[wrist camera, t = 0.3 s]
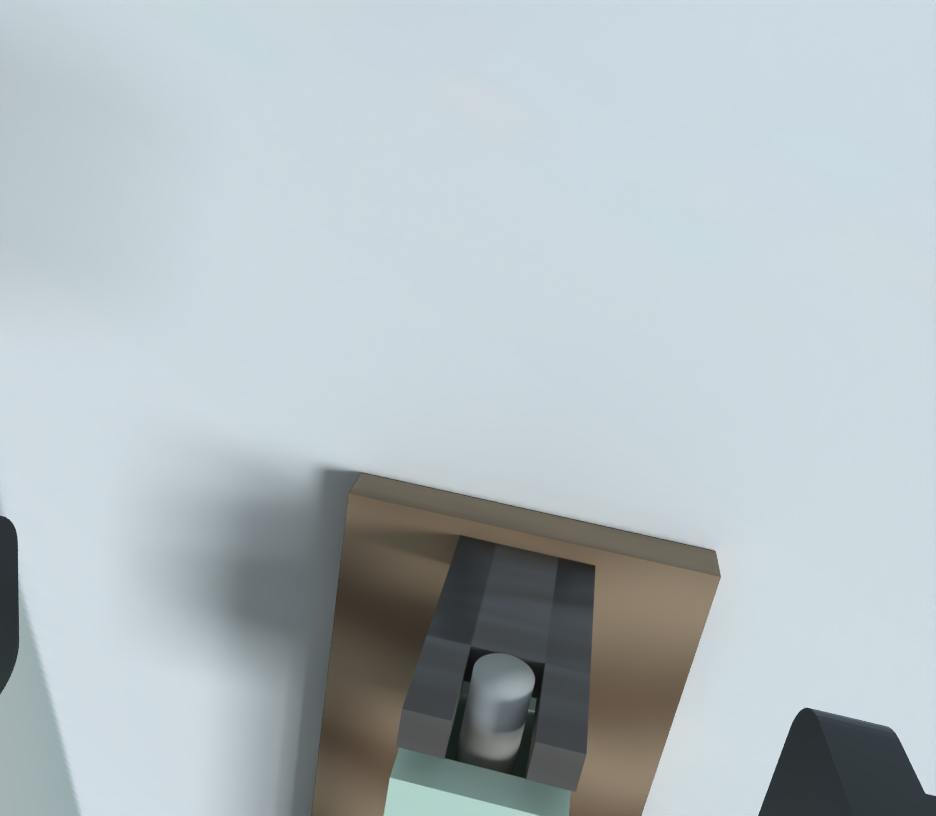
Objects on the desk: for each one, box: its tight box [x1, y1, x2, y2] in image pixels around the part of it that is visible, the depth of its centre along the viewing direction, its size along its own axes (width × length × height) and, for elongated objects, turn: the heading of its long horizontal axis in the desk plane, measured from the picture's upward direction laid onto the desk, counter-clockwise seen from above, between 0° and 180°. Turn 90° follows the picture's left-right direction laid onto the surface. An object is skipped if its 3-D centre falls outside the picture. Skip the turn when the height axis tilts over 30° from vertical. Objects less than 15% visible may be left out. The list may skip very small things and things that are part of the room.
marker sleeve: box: [384, 681, 571, 816], centre depth 23 cm, size 5×4×4 cm
